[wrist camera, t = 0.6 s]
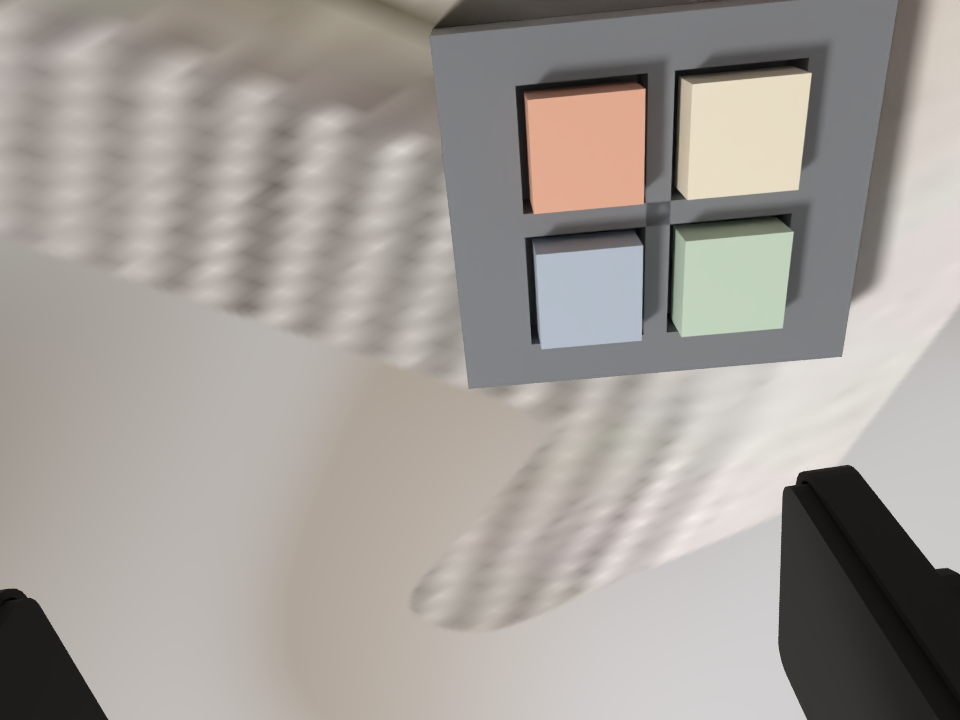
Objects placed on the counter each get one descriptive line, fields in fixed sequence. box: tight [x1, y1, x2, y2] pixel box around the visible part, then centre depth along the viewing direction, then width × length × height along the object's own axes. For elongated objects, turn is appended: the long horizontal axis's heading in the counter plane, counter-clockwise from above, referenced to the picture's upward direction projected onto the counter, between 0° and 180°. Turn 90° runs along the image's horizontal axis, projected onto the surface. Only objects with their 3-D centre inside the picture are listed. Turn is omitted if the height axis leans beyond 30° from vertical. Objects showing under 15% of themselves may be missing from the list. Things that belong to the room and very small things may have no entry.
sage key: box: [670, 216, 794, 337], centre depth 32 cm, size 4×4×2 cm
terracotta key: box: [524, 81, 646, 214], centre depth 29 cm, size 4×4×2 cm
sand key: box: [675, 66, 812, 200], centre depth 29 cm, size 4×4×2 cm
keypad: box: [430, 0, 898, 389], centre depth 32 cm, size 17×15×3 cm
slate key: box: [532, 229, 643, 349], centre depth 32 cm, size 4×4×2 cm
